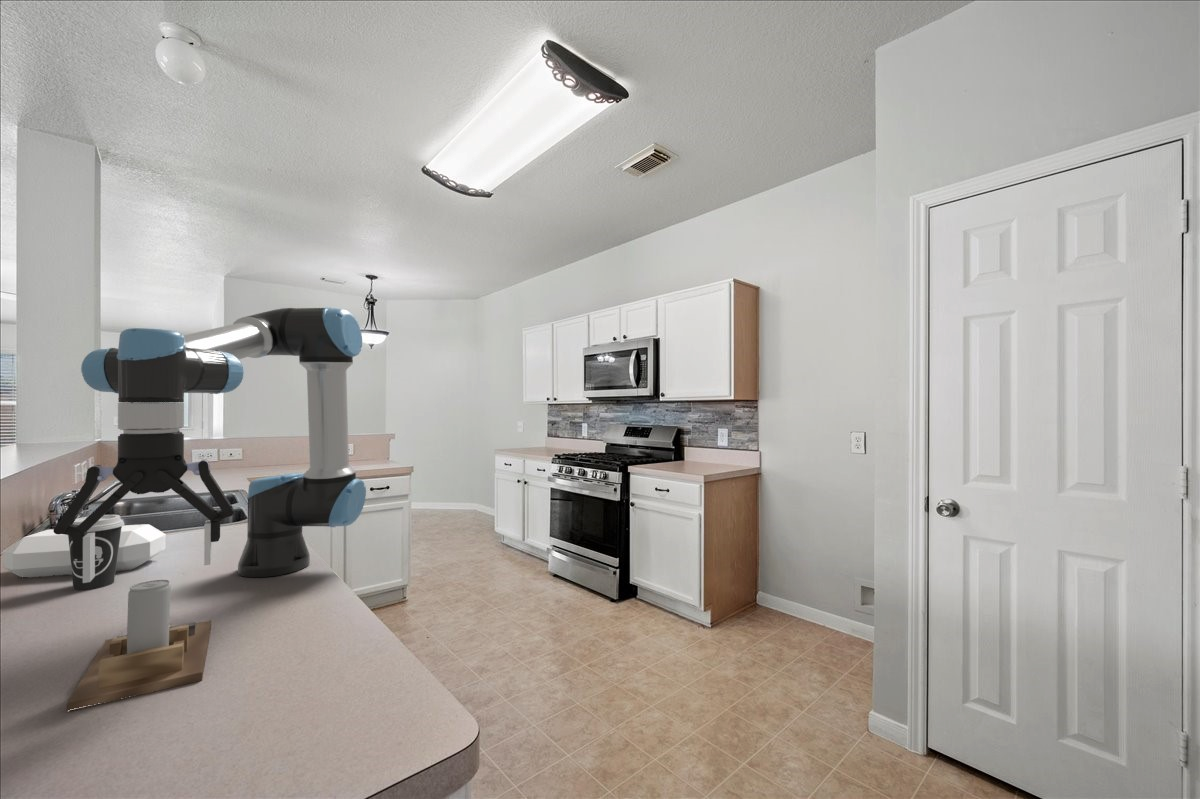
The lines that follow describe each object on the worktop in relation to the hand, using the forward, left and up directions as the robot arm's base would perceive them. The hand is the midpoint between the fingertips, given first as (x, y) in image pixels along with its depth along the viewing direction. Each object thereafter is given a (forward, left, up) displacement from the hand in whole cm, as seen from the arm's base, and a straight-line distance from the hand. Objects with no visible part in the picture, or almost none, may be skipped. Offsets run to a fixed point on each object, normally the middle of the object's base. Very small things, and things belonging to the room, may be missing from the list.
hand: (151, 571), depth 77 cm
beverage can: (0, 0, -14) cm, 14 cm away
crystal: (+20, -74, -16) cm, 78 cm away
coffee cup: (+16, -57, -15) cm, 61 cm away
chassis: (0, -4, -15) cm, 16 cm away
